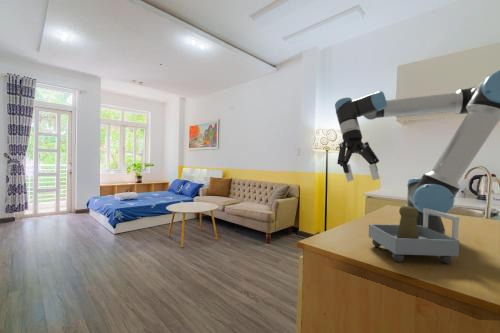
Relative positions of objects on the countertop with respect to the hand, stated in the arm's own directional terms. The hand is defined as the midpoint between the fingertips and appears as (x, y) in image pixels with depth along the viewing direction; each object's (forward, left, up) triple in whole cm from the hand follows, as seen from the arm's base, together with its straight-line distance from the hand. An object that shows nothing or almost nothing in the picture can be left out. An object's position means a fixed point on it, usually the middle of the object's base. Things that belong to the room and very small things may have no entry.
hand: (363, 180), depth 94 cm
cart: (-6, +19, -22) cm, 30 cm away
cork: (-6, +19, -18) cm, 27 cm away
